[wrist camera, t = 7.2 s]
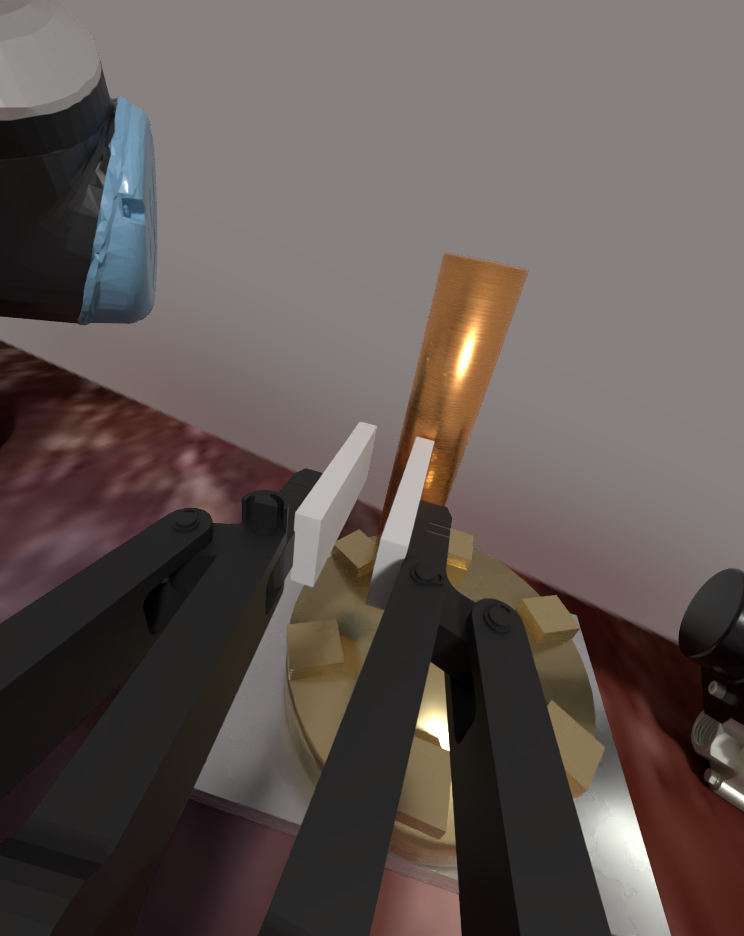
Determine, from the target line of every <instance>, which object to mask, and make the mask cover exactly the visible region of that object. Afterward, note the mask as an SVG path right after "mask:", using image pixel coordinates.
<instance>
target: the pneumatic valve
mask: <svg viewBox="0 0 744 936" xmlns="http://www.w3.org/2000/svg"><path fill="white" fill-rule="evenodd" d="M679 647H680V650H681V652H682V653H683V655H684V656H686V657H687V658H689V659H690V660H692V661H694V662H696V663H697V664H699V665H701V676H702V690H703V704H704V710H703V711H702V712H701V713H700V714H699V715H698V717H697V718H696V720H695V722H694V724H693V727H692V731H691V742H692V745H693V748H694V750H695V752H696V753H698V754H699V755H701V756H703V757H704V758H706V759H707V760H709V761H710V766H711V769H710V768H708V769H706V771H705V773H704V780H705V781H706V782H708V783H709V787H710V789H711V790H712V791H713V792H715V793H716V794H718V795H719V796H721V797H722V798H724V799H725V800H727V801H728V802H730V803H731V804H733V805H734V806H736V807H737V808H739V809H740V810H742V811H743V812H744V571H742V570H740V569H736V568H729V569H725V570H722V571H720V572H718V573H717V574H715V575H714V576H713V577H712V578H710V579H709V580H708V581H707V582H706V583H705V584H704V585H703V586H702V587H701V588H700V589H699V591H698V592H697V593H696V595H695V596H694V598H693V599H692V601H691V602H690V604H689V606H688V608H687V610H686V612H685V615H684V617H683V620H682V622H681V626H680V630H679Z"/></svg>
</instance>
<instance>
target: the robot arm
mask: <svg viewBox="0 0 744 936" xmlns="http://www.w3.org/2000/svg"><path fill="white" fill-rule="evenodd" d="M156 273H157V201H156V174H155V158H154V147H153V139H152V134H151V131H150V122H149V119H148V117H147V115H146V114H145V112H144V111H142V110H141V109H140V108H139V107H136V106H134V105H132V104H130V102H129V101H127V100H126V99H124V97H120V96H119V97H118V98H117V99H111V98H110V96H109V93H108V90H107V86H106V82H105V78H104V74H103V70H102V66H101V61H100V58H99V55H98V52H97V49H96V46H95V43H94V41H93V39H92V37H91V36H90V34H89V33H88V31H87V30H86V28H85V27H84V26H83V25H82V24H81V23H80V22H79V21H78V19H77V18H76V17H75V16H74V15H73V14H72V13H71V12H70V11H69V10H68V9H67V8H66V7H65V6H64V5H63V4H62V3H61V2H60V1H59V0H0V316H2V317H12V318H23V319H34V320H45V321H56V322H67V323H77V324H79V325H87V324H89V323H127V324H129V323H135V322H137V321H139V320H141V319H144V318H145V317H146V316H147V315H148V314H149V313H150V312H151V310H152V308H153V305H154V300H155V291H156ZM376 429H377V426H374V425H370V424H367V423H363V422H359V424H358V425H357V427H356V428H355V429H354V431H353V432H352V434H351V435H350V436H349V438H348V439H347V441H346V442H345V443H344V445H343V446H342V448H341V449H340V450H339V452H338V453H337V455H336V456H335V458H334V459H333V460H332V462H331V463H330V465H329V466H328V468H327V469H326V470H325V472H324V473H320V472H317V471H313V470H310V469H303V470H302V471H299V472H297V473H295V474H294V475H293V476H292V477H291V479H290V480H289V481H288V483H286V485H285V486H284V487H283V488H282V490H281V491H280V492H279V493H278V492H275V491H270V490H259V491H254V492H251V493H249V494H247V495H246V496H244V497H243V498H242V522H241V523H240V524H221V523H212V518H211V516H210V514H209V513H207V512H206V511H205V510H201V509H198V508H184V509H180V510H176V511H174V512H172V513H170V514H168V515H166V516H165V517H163V518H162V519H160V520H159V521H157V522H156V523H154V524H152V525H151V526H149V527H148V528H146V529H145V530H143V531H142V532H140V533H139V534H137V535H136V536H134V537H133V538H131V539H130V540H128V541H126V542H125V543H123V544H122V545H120V546H119V547H117V548H116V549H114V550H113V551H111V552H110V553H108V554H107V555H105V556H103V557H102V558H100V559H99V560H97V561H96V562H94V563H93V564H91V565H90V566H88V567H87V568H85V569H84V570H82V571H81V572H79V573H77V574H76V575H74V576H73V577H71V578H70V579H68V580H67V581H65V582H64V583H62V584H61V585H59V586H58V587H56V588H54V589H53V590H51V591H50V592H48V593H47V594H45V595H44V596H42V597H41V598H39V599H38V600H36V601H35V602H33V603H32V604H30V605H28V606H27V607H25V608H24V609H22V610H21V611H19V612H18V613H16V614H15V615H13V616H12V617H10V618H9V619H7V620H5V621H4V622H2V623H1V624H0V801H1V800H2V799H3V798H4V797H5V796H6V795H7V794H8V793H9V792H10V791H11V790H12V789H13V788H14V787H15V786H16V785H17V784H18V783H19V782H20V781H21V780H22V779H23V778H24V777H25V776H26V775H28V774H29V773H30V772H31V771H32V770H33V769H34V768H35V767H36V766H37V765H38V764H39V763H40V762H41V761H42V760H43V759H44V758H45V757H46V756H47V755H48V754H49V753H50V752H51V751H52V750H53V749H54V748H55V747H56V746H57V745H58V744H59V743H60V742H61V741H62V740H63V739H64V738H65V737H66V736H68V735H69V734H70V733H71V732H72V731H73V730H74V729H75V728H76V727H77V726H78V725H79V724H80V723H81V722H82V721H83V720H84V719H85V718H86V717H87V716H88V715H89V714H90V713H91V712H92V711H93V710H94V709H95V708H96V707H97V706H98V705H99V704H100V703H101V702H102V701H103V700H104V699H105V698H107V697H108V696H109V695H110V694H111V693H112V692H113V691H114V690H115V689H116V688H117V687H118V686H119V685H120V684H121V683H122V682H123V681H124V680H125V679H126V678H127V677H128V676H129V675H130V674H131V673H132V672H133V671H134V670H135V669H136V670H135V671H134V672H133V674H132V675H131V677H130V678H129V679H128V681H127V682H126V683H125V685H124V686H123V688H122V689H121V690H120V692H119V693H118V695H117V696H116V697H115V699H114V700H113V702H112V703H111V704H110V706H109V707H108V708H107V710H106V711H105V713H104V714H103V715H102V717H101V718H100V720H99V721H98V722H97V724H96V725H95V727H94V728H93V729H92V731H91V732H90V733H89V735H88V736H87V738H86V739H85V740H84V742H83V743H82V745H81V746H80V747H79V749H78V750H77V752H76V753H75V754H74V756H73V757H72V758H71V760H70V761H69V763H68V764H67V765H66V767H65V768H64V770H63V771H62V772H61V774H60V775H59V776H58V778H57V779H56V781H55V782H54V783H53V785H52V786H51V788H50V789H49V790H48V792H47V793H46V795H45V796H44V797H43V799H42V800H41V801H40V803H39V804H38V806H37V807H36V808H35V810H34V811H33V813H32V814H31V815H30V817H29V818H28V819H27V820H26V822H25V823H24V824H23V825H22V827H21V828H20V829H19V830H18V831H17V832H16V833H14V834H13V835H12V836H11V837H10V838H9V839H7V840H5V841H3V842H2V843H0V936H133V933H134V930H135V926H136V922H137V918H138V913H139V910H140V907H141V904H142V901H143V899H144V896H145V894H146V891H147V889H148V887H149V885H150V882H151V880H152V878H153V876H154V874H155V871H156V869H157V867H158V865H159V863H160V861H161V858H162V856H163V854H164V852H165V850H166V847H167V845H168V843H169V841H170V839H171V836H172V834H173V832H174V830H175V828H176V826H177V823H178V821H179V819H180V817H181V815H182V812H183V810H184V808H185V806H186V804H187V801H188V799H189V797H190V795H191V793H192V791H193V788H194V786H195V784H196V782H197V780H198V777H199V775H200V773H201V771H202V769H203V766H204V764H205V762H206V760H207V758H208V756H209V753H210V751H211V749H212V747H213V745H214V742H215V740H216V738H217V736H218V734H219V732H220V729H221V727H222V725H223V723H224V721H225V718H226V716H227V714H228V712H229V710H230V707H231V705H232V703H233V701H234V699H235V697H236V694H237V692H238V690H239V688H240V686H241V683H242V681H243V679H244V677H245V675H246V672H247V670H248V668H249V666H250V664H251V662H252V659H253V657H254V655H255V653H256V651H257V648H258V646H259V644H260V642H261V640H262V637H263V635H264V633H265V631H266V629H267V627H268V624H269V622H270V620H271V618H272V616H273V613H274V611H275V609H276V607H277V605H278V602H279V600H280V598H281V596H282V594H283V590H284V583H285V579H286V577H287V575H288V573H289V572H290V570H291V580H292V581H295V582H298V583H301V584H304V585H307V586H310V587H314V585H315V583H316V581H317V579H318V577H319V575H320V573H321V571H322V569H323V567H324V565H325V563H326V561H327V559H328V557H329V555H330V553H331V551H332V549H333V547H334V545H335V543H336V541H337V539H338V537H339V535H340V533H341V531H342V529H343V527H344V525H345V523H346V521H347V519H348V517H349V515H350V513H351V511H352V509H353V507H354V505H355V503H356V501H357V499H358V497H359V495H360V493H361V491H362V488H363V487H364V484H365V482H366V480H367V477H368V472H369V466H370V461H371V456H372V451H373V445H374V440H375V435H376ZM0 439H1V431H0ZM433 445H434V441H432V440H428V439H424V438H420V437H416V440H415V443H414V445H413V448H412V451H411V454H410V457H409V460H408V463H407V465H406V468H405V471H404V474H403V477H402V480H401V483H400V485H399V488H398V491H397V494H396V497H395V500H394V503H393V505H392V508H391V511H390V514H389V517H388V520H387V523H386V525H385V528H384V531H383V534H382V537H381V540H380V545H379V549H378V553H377V557H376V561H375V566H374V570H373V574H372V578H371V583H370V587H369V591H368V595H367V599H366V605H369V606H372V607H375V608H378V609H381V610H384V613H383V615H382V618H381V620H380V623H379V625H378V628H377V631H376V633H375V636H374V638H373V641H372V644H371V646H370V649H369V651H368V654H367V656H366V659H365V662H364V664H363V667H362V669H361V672H360V675H359V677H358V680H357V682H356V685H355V687H354V690H353V693H352V695H351V698H350V700H349V703H348V705H347V708H346V711H345V713H344V716H343V718H342V721H341V724H340V726H339V729H338V731H337V734H336V736H335V739H334V742H333V744H332V747H331V749H330V752H329V754H328V757H327V760H326V762H325V765H324V767H323V770H322V773H321V775H320V778H319V780H318V783H317V785H316V788H315V791H314V793H313V796H312V798H311V801H310V804H309V806H308V809H307V811H306V814H305V816H304V819H303V822H302V824H301V827H300V829H299V832H298V834H297V837H296V840H295V842H294V845H293V847H292V850H291V853H290V855H289V858H288V860H287V863H286V865H285V868H284V871H283V873H282V876H281V878H280V881H279V883H278V886H277V889H276V891H275V894H274V896H273V899H272V902H271V904H270V907H269V909H268V912H267V914H266V917H265V919H264V922H263V924H262V927H261V929H260V931H259V934H258V936H369V934H370V930H371V925H372V921H373V917H374V912H375V908H376V903H377V899H378V894H379V890H380V885H381V881H382V876H383V872H384V867H385V863H386V858H387V854H388V850H389V845H390V841H391V836H392V832H393V827H394V823H395V818H396V814H397V809H398V805H399V800H400V796H401V791H402V787H403V783H404V778H405V774H406V769H407V765H408V760H409V756H410V751H411V747H412V742H413V738H414V733H415V729H416V724H417V720H418V716H419V711H420V707H421V702H422V698H423V693H424V689H425V684H426V680H427V675H428V671H429V666H430V662H431V663H433V664H434V665H435V666H437V667H438V668H440V669H441V670H442V671H444V678H445V693H446V708H447V723H448V738H449V753H450V768H451V783H452V797H453V812H454V827H455V842H456V857H457V872H458V887H459V902H460V917H461V931H462V936H612V935H611V931H610V928H609V924H608V921H607V917H606V914H605V910H604V907H603V903H602V899H601V896H600V892H599V889H598V885H597V882H596V878H595V875H594V871H593V868H592V864H591V860H590V857H589V853H588V850H587V846H586V843H585V839H584V836H583V832H582V828H581V825H580V821H579V818H578V814H577V811H576V807H575V804H574V800H573V797H572V793H571V789H570V786H569V782H568V779H567V775H566V772H565V768H564V765H563V761H562V758H561V754H560V750H559V747H558V743H557V740H556V736H555V733H554V729H553V726H552V722H551V719H550V715H549V711H548V708H547V704H546V701H545V697H544V694H543V690H542V687H541V683H540V680H539V676H538V672H537V669H536V665H535V662H534V658H533V655H532V651H531V648H530V644H529V640H528V637H527V633H526V630H525V626H524V624H523V622H522V620H521V618H520V616H519V615H518V614H517V612H516V611H515V610H514V609H513V608H512V607H510V606H509V605H507V604H506V603H504V602H502V601H499V600H496V599H492V598H484V599H481V600H479V601H477V602H474V601H472V600H471V599H469V598H467V597H466V596H464V595H463V594H461V593H460V592H459V591H457V590H456V589H455V588H454V587H453V586H452V584H451V583H450V581H449V579H448V576H447V572H446V567H447V558H448V549H449V540H450V531H451V530H450V529H451V522H452V517H451V515H450V513H449V511H448V508H447V507H444V506H440V505H437V504H433V503H430V502H426V501H423V500H420V498H421V494H422V490H423V486H424V482H425V478H426V474H427V470H428V466H429V462H430V457H431V453H432V449H433Z"/></svg>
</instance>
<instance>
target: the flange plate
mask: <svg viewBox="0 0 744 936" xmlns="http://www.w3.org/2000/svg"><path fill="white" fill-rule="evenodd" d="M331 552H332V551H331ZM331 555H332V554H331V553H330V555H329V557H330V556H331ZM329 557H328V558H329ZM303 586H304V584H301V583H298V582H295V581H292V580H291V570H290V572H289V573H288V575H287V577H286V579H285V583H284V590H283V594H282V596H281V598H280V600H279V602H278V605H277V607H276V609H275V611H274V613H273V616H272V618H271V620H270V622H269V624H268V627H267V629H266V631H265V633H264V635H263V637H262V640H261V642H260V644H259V646H258V648H257V651H256V653H255V655H254V657H253V659H252V662H251V664H250V666H249V668H248V670H247V672H246V675H245V677H244V679H243V681H242V683H241V686H240V688H239V690H238V692H237V694H236V697H235V699H234V701H233V703H232V705H231V707H230V710H229V712H228V714H227V716H226V718H225V721H224V723H223V725H222V727H221V729H220V732H219V734H218V736H217V738H216V740H215V742H214V745H213V747H212V749H211V751H210V753H209V756H208V758H207V760H206V762H205V764H204V766H203V769H202V771H201V773H200V775H199V777H198V780H197V782H196V784H195V786H194V788H193V791H192V793H191V795H190V797H189V799H191V800H194V801H196V802H199V803H202V804H205V805H208V806H211V807H213V808H216V809H219V810H222V811H225V812H228V813H230V814H233V815H236V816H239V817H242V818H245V819H247V820H250V821H253V822H256V823H259V824H262V825H264V826H267V827H270V828H273V829H276V830H279V831H281V832H284V833H287V834H290V835H293V836H296V837H297V834H298V832H299V829H300V827H301V824H302V822H303V819H304V816H305V814H306V811H307V809H308V806H309V804H310V801H311V798H312V796H313V793H314V791H315V786H314V785H313V784H312V782H311V780H310V778H309V776H308V774H307V772H306V771H305V769H304V767H303V765H302V763H301V761H300V759H299V756H298V753H297V751H296V748H295V745H294V743H293V740H292V737H291V733H290V728H289V724H288V720H287V715H286V706H285V696H284V691H285V666H286V652H287V643H286V631H287V625H288V624H290V619H291V616H292V613H293V609H294V606H295V603H296V601H297V598H298V596H299V594H300V592H301V590H302V588H303ZM571 616H572V617H573V618H574V620H575V621H576V622H577V624H578V625H579V622H578V618H577V615H574V614H571ZM579 626H580V625H579ZM572 640H573V642H574V644H575V646H576V648H577V650H578V652H579V654H580V656H581V659H582V661H583V664H584V666H585V669H586V672H587V674H588V678H589V682H590V686H591V689H592V693H593V700H594V707H595V714H596V736H595V739H596V740H597V741H599V742H600V743H601V744H602V745H603V746H604V747H605V750H604V752H603V755H602V757H601V759H600V762H599V764H598V766H597V769H596V771H595V773H594V776H593V778H592V781H591V783H590V785H589V788H588V790H587V791H586V792H585V793H583V794H582V795H581V796H579V797H578V798H577V799H575V798H573V800H574V804H575V807H576V811H577V814H578V818H579V821H580V825H581V828H582V832H583V836H584V839H585V843H586V846H587V850H588V853H589V857H590V860H591V864H592V868H593V871H594V875H595V878H596V882H597V885H598V889H599V892H600V896H601V899H602V903H603V907H604V910H605V914H606V917H607V921H608V924H609V928H610V931H611V935H612V936H671V934H670V931H669V928H668V924H667V921H666V917H665V914H664V911H663V907H662V904H661V900H660V897H659V894H658V890H657V887H656V883H655V880H654V877H653V873H652V870H651V866H650V863H649V860H648V856H647V853H646V849H645V846H644V843H643V839H642V836H641V832H640V829H639V826H638V822H637V819H636V815H635V812H634V809H633V805H632V802H631V798H630V795H629V792H628V788H627V785H626V781H625V778H624V775H623V771H622V768H621V764H620V761H619V758H618V754H617V751H616V747H615V744H614V741H613V737H612V734H611V730H610V727H609V724H608V720H607V717H606V713H605V710H604V707H603V703H602V700H601V696H600V693H599V690H598V686H597V683H596V679H595V676H594V673H593V669H592V666H591V662H590V659H589V656H588V652H587V649H586V645H585V642H584V639H583V635H582V632H581V628H580V630H579V631H578V632H577V633H576V635H575V636H574V637H573V638H572ZM384 868H386V869H389V870H392V871H395V872H398V873H401V874H404V875H406V876H409V877H412V878H415V879H418V880H421V881H423V882H426V883H429V884H432V885H435V886H438V887H440V888H443V889H446V890H449V891H452V892H455V893H457V894H459V887H458V872H457V867H437V866H431V865H425V864H420V863H414V862H412V861H409V860H406V859H403V858H401V857H398V856H395V855H393V854H390V853H388V854H387V858H386V863H385V867H384Z"/></svg>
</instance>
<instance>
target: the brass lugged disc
mask: <svg viewBox="0 0 744 936" xmlns="http://www.w3.org/2000/svg"><path fill="white" fill-rule="evenodd" d="M528 272H529V270H526V269H523V268H519V267H516V266H511V265H507V264H503V263H498V262H494V261H489V260H484V259H479V258H474V257H469V256H463V255H458V254H451V253H444V254H443V258H442V262H441V266H440V270H439V275H438V279H437V283H436V287H435V292H434V296H433V300H432V305H431V308H430V313H429V317H428V321H427V326H426V330H425V334H424V338H423V342H422V347H421V351H420V356H419V359H418V363H417V368H416V372H415V376H414V380H413V385H412V389H411V393H410V397H409V402H408V406H407V410H406V415H405V418H404V423H403V427H402V431H401V435H400V441H399V444H398V449H397V452H396V457H395V461H394V465H393V470H392V474H391V478H390V482H389V486H388V490H387V495H386V499H385V503H384V507H383V512H382V516H381V520H380V524H379V529H378V533H377V535H376V536H371V537H367V536H366V535H365V534H364V533H363V532H362V531H361V530H357V531H355V532H353V533H351V534H349V535H347V536H345V537H343V538H341V539H339V540H338V541H336V543H335V545H334V547H333V549H332V552H331V554H332V555H331V556H330V557H329V558H328V559H327V561H326V563H325V565H324V567H323V569H322V571H321V573H320V575H319V577H318V579H317V581H316V583H315V585H314V587H310V586H307V585H304V586H303V588H302V590H301V592H300V594H299V596H298V598H297V601H296V603H295V606H294V609H293V613H292V616H291V619H290V624H288V625H287V631H286V643H287V652H286V666H285V691H284V696H285V706H286V715H287V720H288V724H289V728H290V733H291V737H292V740H293V743H294V745H295V748H296V751H297V753H298V756H299V759H300V761H301V763H302V765H303V767H304V769H305V771H306V772H307V774H308V776H309V778H310V780H311V782H312V784H313V785H314V786H315V788H316V785H317V783H318V780H319V778H320V775H321V773H322V770H323V767H324V765H325V762H326V760H327V757H328V754H329V752H330V749H331V747H332V744H333V742H334V739H335V736H336V734H337V731H338V729H339V726H340V724H341V721H342V718H343V716H344V713H345V711H346V708H347V705H348V703H349V700H350V698H351V695H352V693H353V690H354V687H355V685H356V682H357V680H358V677H359V675H360V672H361V669H362V667H363V664H364V662H365V659H366V656H367V654H368V651H369V649H370V646H371V644H372V641H373V638H374V636H375V633H376V631H377V628H378V625H379V623H380V620H381V618H382V615H383V613H384V610H381V609H378V608H375V607H372V606H369V605H366V599H367V595H368V591H369V587H370V583H371V578H372V574H373V570H374V566H375V561H376V557H377V553H378V549H379V545H380V540H381V537H382V534H383V531H384V528H385V525H386V523H387V520H388V517H389V514H390V511H391V508H392V505H393V503H394V500H395V497H396V494H397V491H398V488H399V485H400V483H401V480H402V477H403V474H404V471H405V468H406V465H407V463H408V460H409V457H410V454H411V451H412V448H413V445H414V443H415V440H416V437H420V438H424V439H428V440H432V441H434V445H433V449H432V453H431V457H430V462H429V466H428V470H427V474H426V478H425V482H424V486H423V490H422V494H421V498H420V500H423V501H426V502H430V503H433V504H437V505H440V506H444V507H446V504H447V501H448V498H449V495H450V492H451V490H452V487H453V484H454V481H455V478H456V475H457V473H458V469H459V467H460V464H461V461H462V459H463V456H464V452H465V450H466V447H467V444H468V441H469V439H470V436H471V433H472V430H473V427H474V425H475V422H476V419H477V416H478V413H479V410H480V407H481V404H482V402H483V399H484V396H485V393H486V390H487V388H488V384H489V382H490V379H491V376H492V374H493V370H494V368H495V365H496V362H497V359H498V357H499V354H500V351H501V348H502V345H503V342H504V340H505V337H506V334H507V331H508V328H509V326H510V323H511V319H512V317H513V314H514V311H515V308H516V306H517V303H518V300H519V297H520V294H521V292H522V289H523V286H524V283H525V280H526V277H527V275H528ZM450 530H451V531H450V540H449V549H448V558H447V567H446V572H447V576H448V579H449V581H450V583H451V584H452V586H453V587H454V588H455V589H456V590H457V591H459V592H460V593H461V594H463V595H464V596H466V597H467V598H469V599H471V600H472V601H474V602H477V601H479V600H481V599H484V598H492V599H496V600H499V601H502V602H504V603H506V604H507V605H509V606H510V607H512V608H513V609H514V610H515V611H516V612H517V614H518V615H519V616H520V618H521V620H522V622H523V624H524V626H525V630H526V633H527V637H528V640H529V644H530V648H531V651H532V655H533V658H534V662H535V665H536V669H537V672H538V676H539V680H540V683H541V687H542V690H543V694H544V697H545V701H546V704H547V708H548V711H549V715H550V719H551V722H552V726H553V729H554V733H555V736H556V740H557V743H558V747H559V750H560V754H561V758H562V761H563V765H564V768H565V772H566V775H567V779H568V782H569V786H570V789H571V793H572V797H573V798H575V799H577V798H578V797H579V796H581V795H582V794H583V793H585V792H586V791H587V790H588V788H589V785H590V783H591V781H592V778H593V776H594V773H595V771H596V769H597V766H598V764H599V762H600V759H601V757H602V755H603V752H604V750H605V747H604V746H603V745H602V744H601V743H600V742H599V741H597V740H596V739H595V736H596V714H595V707H594V700H593V693H592V689H591V686H590V682H589V678H588V674H587V672H586V669H585V666H584V664H583V661H582V659H581V656H580V654H579V652H578V650H577V648H576V646H575V644H574V642H573V640H572V638H573V637H574V636H575V635H576V633H577V632H578V631H579V630H580V626H579V625H578V624H577V622H576V621H575V620H574V618H573V617H572V616H571V614H570V613H569V612H568V610H567V609H566V607H565V606H564V605H563V603H562V602H561V601H560V599H559V598H558V597H557V595H552V596H543V597H540V595H539V594H538V593H537V592H536V591H535V590H534V589H533V588H531V587H530V586H529V585H528V584H527V583H526V582H525V581H524V580H523V579H521V578H520V577H519V576H518V575H516V574H515V573H514V572H513V571H511V570H510V569H509V568H507V567H506V566H504V565H503V564H501V563H500V562H498V561H497V560H495V559H493V558H491V557H490V556H488V555H486V554H484V553H482V552H480V551H478V550H476V549H474V548H473V540H474V536H473V535H470V534H467V533H464V532H461V531H458V530H455V529H452V528H451V529H450ZM388 853H390V854H393V855H395V856H398V857H401V858H403V859H406V860H409V861H412V862H414V863H420V864H425V865H431V866H437V867H457V857H456V842H455V827H454V812H453V797H452V783H451V768H450V753H449V738H448V723H447V708H446V693H445V678H444V671H442V670H441V669H440V668H438V667H437V666H435V665H434V664H433V663H431V662H430V666H429V671H428V675H427V680H426V684H425V689H424V693H423V698H422V702H421V707H420V711H419V716H418V720H417V724H416V729H415V733H414V738H413V742H412V747H411V751H410V756H409V760H408V765H407V769H406V774H405V778H404V783H403V787H402V791H401V796H400V800H399V805H398V809H397V814H396V818H395V823H394V827H393V832H392V836H391V841H390V845H389V850H388Z"/></svg>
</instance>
